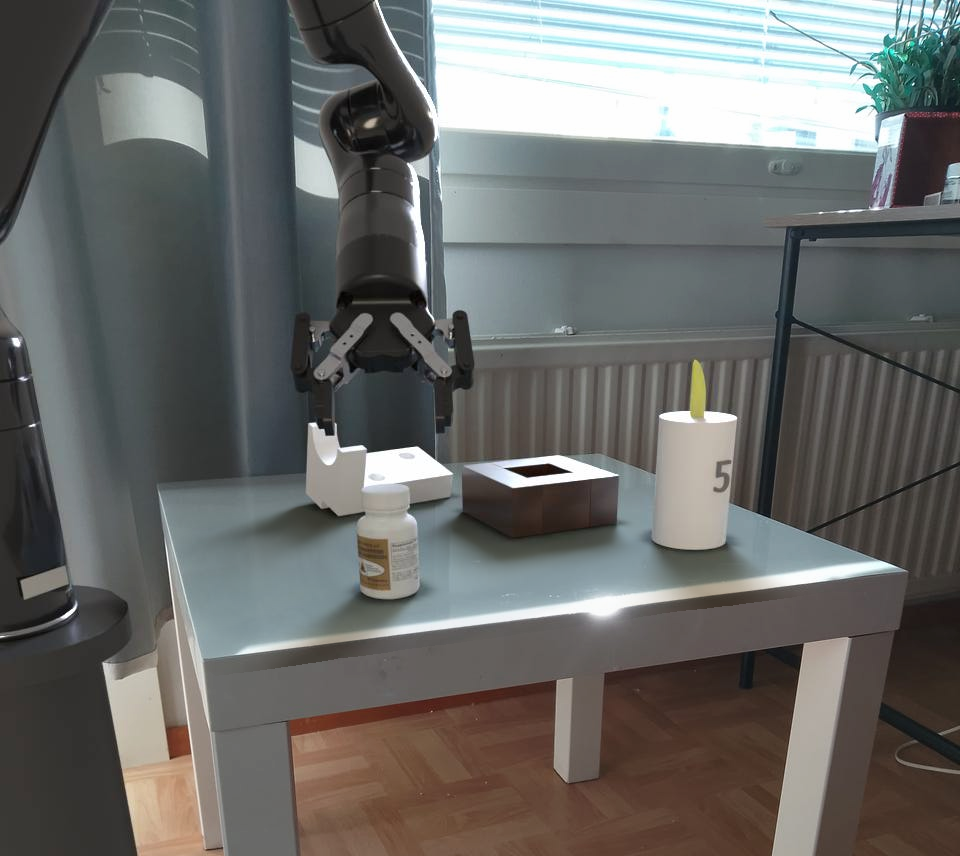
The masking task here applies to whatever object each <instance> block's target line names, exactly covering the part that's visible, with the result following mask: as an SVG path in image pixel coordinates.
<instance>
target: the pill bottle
mask: <svg viewBox="0 0 960 856" xmlns="http://www.w3.org/2000/svg"><path fill="white" fill-rule="evenodd" d="M361 503H362V509H363V510H364V511H365V512H364V513H365V515H363V516H361V517H360V518H359V519H358V521H357V522H356V541H357V556H358V557H357V559H358V571H359V573H358V574H359V586H360V591H361V593H362V594H363V595H365V596H366V597H367V596H368V597H370V598H373V599H379V600H398V599H399V600H400V599H403V598H406V597H409V596H412V595H414V594H415V593H417V592H418V591H419V589H420V561H419V560H420V558H419V538H418V537H419V536H418V535H419V533H418V522H417V520H416V518H415V517H414V516H412V514H410V513H408V510H409V509H410V507H411V506H410V505H411V504H410V495H409V488H408V487H407V486H405V485H401V484H391V483H385V484H373V485H369V486H365V487H363V488H362V489H361Z"/></svg>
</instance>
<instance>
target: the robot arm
mask: <svg viewBox="0 0 960 856" xmlns="http://www.w3.org/2000/svg"><path fill="white" fill-rule="evenodd" d="M115 2H116V0H0V246H1V245H2V244H3V243H4V242H6V240H7V238H8V237H9V235H10V233H11V232H12V230H13V229H14V225H15V224H16V221H17V219H18V216H19V214H20V211H21V209H22V206H23V204H24V201H25V198H26V195H27V192H28V190H29V186H30V184H31V181H32V177H33V175H34V172H35V170H36V166H37V163H38V161H39V157H40V156H41V152H42V149H43V146H44V144H45V141H46V138H47V136H48V133H49V130H50V127H51V125H52V122H53V119H54V117H55V115H56V112H57V110H58V107H59V105H60V102H61V100H62V98H63V96H64V94H65V91H66V89H67V87H68V85H69V84H70V82H71V81H72V78H73V77H74V75H75V73H76V71H77V70H78V68H79V67H80V65H81V63H82V62H83V60H85V58H86V56H87V54H88V52H89V51H90V49H91V47H92V45H93V43H94V42H95V40H96V38H97V36H98V34H99V33H100V30H101V28H102V27H103V25H104V23H105V21H106V19H107V17H108V15H109V14H110V11H111V9H112V7H113V6H114V5H115ZM286 2H287V4H288V7H289V9H290V12H291V15H292V17H293V20H294V23H295V25H296V27H297V30H298V32H299V35H300V38H301V41H302V43H303V45H304V47H305V50H306V51H307V54H308V55H309V57H310V58H311V59H312V61H314V62H315V63H316V64H318V65H322V66H343V65H351V66H353V65H354V66H359V67H362V68H364V69H365V70H366V71H368V72H369V73H370V74H371V75H372V76H373V77H374V78H375V79H374V80H373V79H372V80H370V81H367V82H364V83H361V84H358V85H356V86H352V87H349V88H346V89H343V90H341V91H337V92H335V93H334V94H332V95H330V96H329V97H328V98H327V99H326V100H325V102H324V103H323V105H322V106H321V108H320V111H319V114H318V117H317V129H318V134H319V138H320V141H321V145H322V147H323V149H324V152H325V154H326V156H327V159H328V161H329V163H330V166H331V168H332V171H333V174H334V179H335V182H336V188H337V193H338V205H337V206H338V209H337V210H338V211H337V213H338V224H337V225H338V226H337V230H336V237H335V311H334V314H333V315H332V317H331V318H330V320H312V319H311V316H310V314H309V313H308V312H303V311H302V312H299V313H297V314H296V315H295V317H294V327H293V336H292V345H291V346H292V347H291V356H290V357H291V358H290V366H289V369H290V372H291V378H292V381H293V385H294V390H295V391H296V392H297V393H299V394H305V393H307V392H309V393H312V394H313V402H314V403H313V414H314V419H315V422H316V424H317V426H318V428H319V429H324V431H325V436H335V423H336V421H335V420H336V403H335V402H336V398H335V393H336V392H337V391H338V390H339V389H340V388H341V386H342V385H344V384H348V383H349V382H351V380H352V379H353V378H354V377H355V376H356V375H357V374H358V373H359V372H360V370H362V371H364V374H375V373H377V374H378V373H381V372H388V373H393V374H397V373H398V374H399V373H401V374H402V373H404V370H407V369H409V371H410V372H411V373H412V374H413V375H414V376H416V377H417V379H418V380H419V381H420V382H422V383H426V384H427V385H428V386H429V387H430V388H431V389H432V390H433V405H434V425H435V426H434V427H435V435H438V434H439V435H440V434H445V433H446V427H452V424H453V422H454V395H453V393H454V392H455V391H456V390H459V389H462V390H464V391H468V390H470V389H472V388H473V386H474V382H475V380H474V379H475V378H474V370H475V357H474V351H473V344H472V338H471V337H472V336H471V330H470V325H469V324H470V323H469V317H468V313H467V312H466V311H464V310H462V309H457V310H455V311H454V312H453V313H452V317H451V318H437V319H435V318H434V317H433V316H432V314H431V313H430V311H429V302H428V300H429V298H428V297H429V296H428V278H427V276H428V275H427V268H428V263H427V259H426V244H425V237H424V232H423V228H422V218H421V215H422V214H421V194H420V193H421V192H420V184H419V180H418V176H417V174H416V171H415V169H414V168H413V166H412V164H411V163H414V162H417V161H421V160H423V159H424V158H426V157H427V156H429V155H430V154H431V153H432V151H433V149H434V148H435V145H436V142H437V138H438V130H439V126H438V125H439V124H438V117H437V113H436V109H435V106H434V103H433V101H432V99H431V97H430V95H429V94H428V92H427V89H426V88H425V86H424V85H423V83H422V81H421V80H420V78H419V77H418V75H417V74H416V72H415V70H414V68H413V67H412V66H411V64H410V63H409V61H408V60H407V57H406V56H405V55H404V53H403V51H402V50H401V48H400V46H399V44H398V42H397V41H396V39H395V37H394V36H393V33H392V31H391V30H390V29H391V28H390V27H389V26H388V23H387V21H386V19H385V17H384V14H383V12H382V9H381V6H380V4H379V0H286ZM435 337H438V338H441V339H442V341H443V343H444V344H445V345H446V346H447V348H448V349H450V350H453V353H454V354H453V355H454V362H455V364H453V365H449V364H448V363H447V362H446V361H445V360H444V359H443V358H442V357H441V356H440V355H439V354H438V353H437V350H436V348H435V346H434V344H432V343H433V341H435ZM327 339H330V340H331V342H332V343H333V344H332V346H331V347H330V349H329V351H328V355H327V357H325V359H324V360H323V361H322V362H321V363H320V364H319V365H318V366H317V367H316V368H315V367H313V357H314V356H313V355H314V352H318V351H319V350H320V348H321V347H322V345H323V342H324V341H325V340H327ZM33 377H34V376H33V370H32V365H31V360H30V356H29V349H28V346H27V341H26V340H25V337H24V336H23V334H22V333H21V332H20V330H19V329H18V328H17V327H16V326H15V325H14V323H12V321H11V320H10V319H9V317H8V316H7V314H6V313H5V311H4V309H3V307H2V306H1V304H0V643H2V642H9V641H15V640H20V639H25V638H30V637H34V636H37V635H40V634H44V633H47V632H50V631H52V630H55V629H57V628H59V627H62V626H64V625H66V624H67V623H69V622H70V621H72V620H73V619H74V618H75V617H76V616H77V615H78V612H79V609H78V604H77V600H76V599H75V596H74V587H73V585H74V583H73V580H72V576H71V575H72V574H71V570H70V565H69V558H68V555H67V554H68V553H67V549H66V542H65V538H64V534H63V533H64V532H63V528H62V523H61V517H60V513H59V512H60V511H59V507H58V502H57V497H56V492H55V487H54V486H55V485H54V481H53V476H52V471H51V465H50V459H49V455H48V450H47V444H46V440H45V439H46V438H45V435H44V430H43V424H42V419H41V413H40V409H39V402H38V399H37V393H36V388H35V381H34V378H33Z"/></svg>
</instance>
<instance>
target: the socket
mask: <svg viewBox="0 0 960 856" xmlns="http://www.w3.org/2000/svg"><path fill="white" fill-rule="evenodd" d="M619 483H620V475H619V474H616V473H613V472H610V471H607V470H604V469H600V468H599V467H595V466H592V465H590V464H587V463H583V462H580V461H578V460H574V459H572V458H569V457H566V456H563V455H561V454H559V455H558V454H557V455H549V456H539V457H531V458H529V457H528V458H519V459H511V460H510V459H509V460H503V461H501V460H499V461H491V462H481V463H473V464H464V465H461V501H462V502H461V503H462V509H461V510H462V512H463V513H465V514H467V515H469V516H471V517H473V518H474V519H477V520H478V521H480V522H482V523H484V524H486V525H487V526H489V527H491V528H493V529H495V530H497V531H499V532H501V533H502V534H504V535H506V536H508V537H510V538H512V539H516V538H522V537H523V538H524V537H529V536H537V535H543V534H544V535H545V534H551V533H559V532H565V531H572V530H580V529H586V528H593V527H599V526H600V527H601V526H607V525H614V524H617V522H618V505H619V504H618V503H619Z"/></svg>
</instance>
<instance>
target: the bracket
mask: <svg viewBox="0 0 960 856" xmlns="http://www.w3.org/2000/svg"><path fill="white" fill-rule="evenodd" d="M337 425H338V424H337V423H336V422H335V436H325V431H324V429H319V428H318V426H317V424H316V421H315V422H309V423H307V444H306V445H307V446H306V448H307V449H306V472H305V473H306V474H305V475H306V476H305V477H306V478H305V494H306V495H307V496H308V497H309V499H311V500H312V502H314V503H315V504H316V505H317V506H318V507H319V508H320V509H322V510H323V509H328V508H330V510H331V511H332V512H334V513H335V514H336V516H337V517H342V516H347V515H353V514H359V513H365V511H364V510H363V509H362V503H361V489H362V488H363V487H365V486H369V485H373V484H385V483H391V484H401V485H405V486H407V487H408V488H409V495H410V504H409V505H411V504H412V505H413V504H416V503H417V504H418V503H424V502H429V501H434V500H440V499H445V498H451V495H452V486H453V478H454V473H452V472H451V471H450V470H449V469H447V468H446V467H445V466H443V465H442V464H441V463H440V462H438V461H437V460H436V459H434V458H433V457H432V456H431V455H429V454H428V453H427V452H425V451H424V450H423V449H421V448H420V447H419V446H413V447H404V448H397V449H389V450H382V451H374V452H368V449H367V448H366V447H365V446H364V445H361V444H360V445H353V446H345V447H341V445H340V442H339V439H338V431H337V428H338V427H337Z"/></svg>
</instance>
